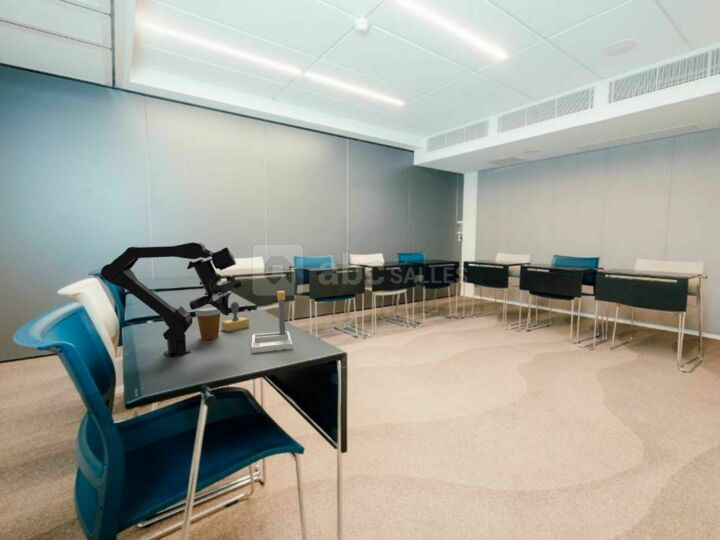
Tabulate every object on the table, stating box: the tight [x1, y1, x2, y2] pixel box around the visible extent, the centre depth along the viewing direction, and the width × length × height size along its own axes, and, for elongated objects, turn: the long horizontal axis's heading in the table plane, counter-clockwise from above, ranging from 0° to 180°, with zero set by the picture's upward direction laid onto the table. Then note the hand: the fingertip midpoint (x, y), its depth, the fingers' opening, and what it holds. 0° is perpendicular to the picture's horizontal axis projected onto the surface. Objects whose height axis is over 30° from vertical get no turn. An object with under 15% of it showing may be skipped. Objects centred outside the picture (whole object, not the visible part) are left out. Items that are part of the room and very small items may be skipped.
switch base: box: [251, 330, 293, 354], centre depth 125 cm, size 14×16×4 cm
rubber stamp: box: [221, 301, 250, 332], centre depth 146 cm, size 10×6×12 cm, turn 140°
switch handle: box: [276, 290, 286, 335], centre depth 126 cm, size 3×3×18 cm
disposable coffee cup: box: [194, 305, 222, 341], centre depth 133 cm, size 10×10×12 cm
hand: (227, 315), depth 119 cm, fingers closed
